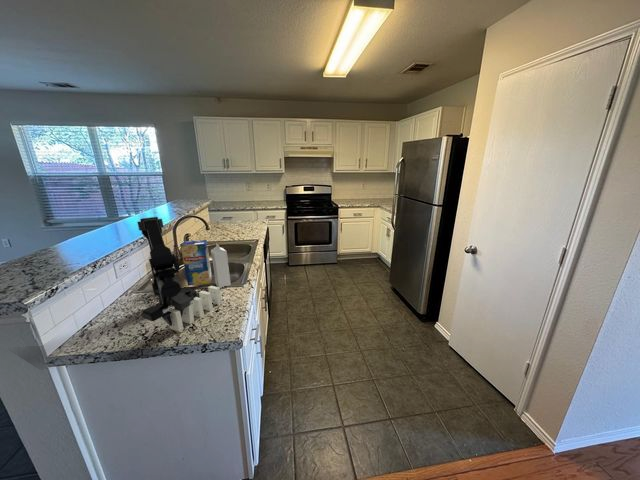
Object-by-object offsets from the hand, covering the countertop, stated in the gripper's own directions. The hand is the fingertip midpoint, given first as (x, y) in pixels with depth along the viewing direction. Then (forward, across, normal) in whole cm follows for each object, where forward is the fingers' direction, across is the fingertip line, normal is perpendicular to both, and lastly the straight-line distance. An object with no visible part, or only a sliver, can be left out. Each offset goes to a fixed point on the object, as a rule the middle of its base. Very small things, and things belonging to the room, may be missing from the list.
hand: (175, 322), depth 97 cm
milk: (+3, +35, +10) cm, 37 cm away
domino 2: (+3, +5, 0) cm, 6 cm away
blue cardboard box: (+3, +33, +24) cm, 41 cm away
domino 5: (+3, +20, 0) cm, 20 cm away
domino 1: (+3, 0, 0) cm, 3 cm away
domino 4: (+3, +15, 0) cm, 15 cm away
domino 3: (+3, +10, 0) cm, 10 cm away
